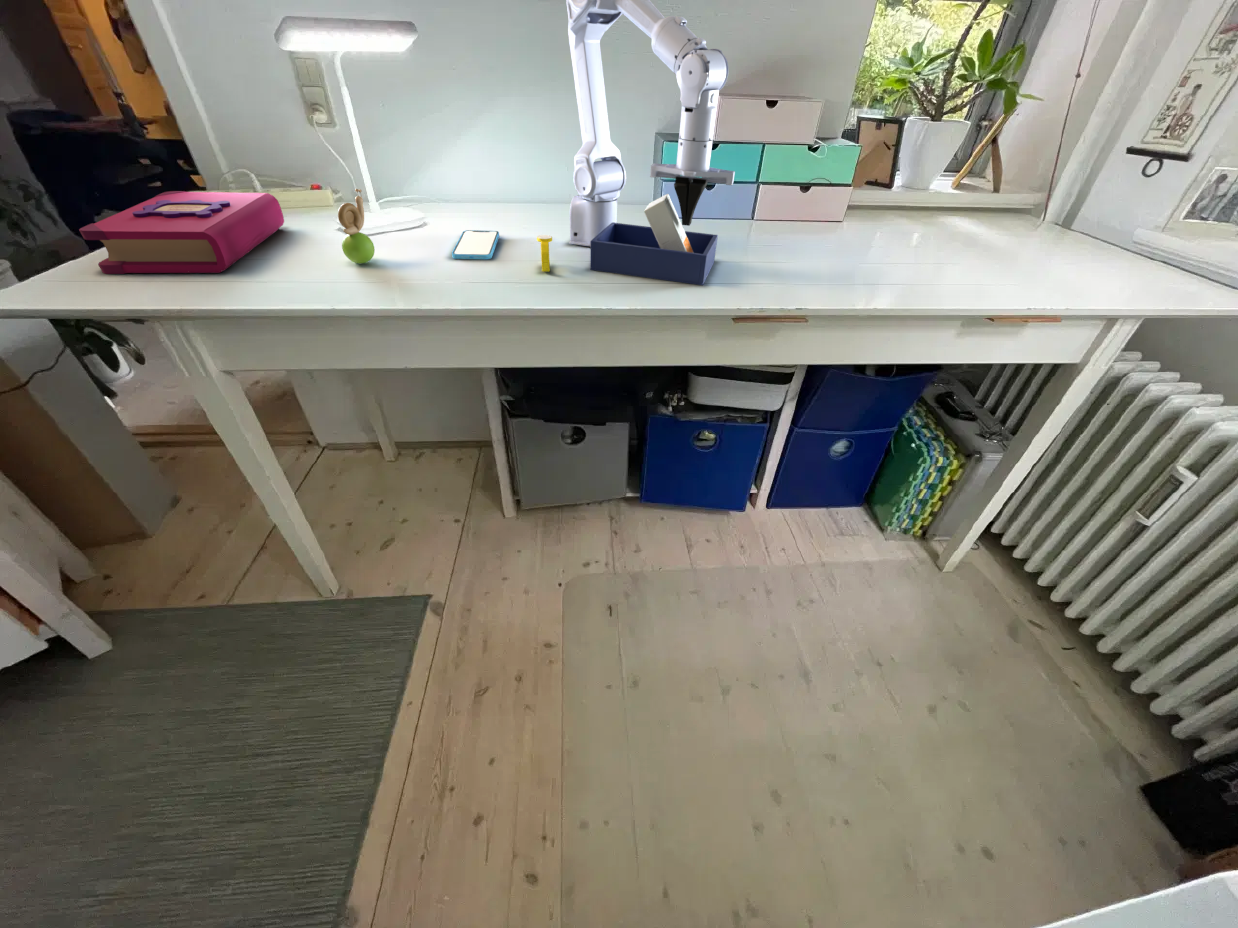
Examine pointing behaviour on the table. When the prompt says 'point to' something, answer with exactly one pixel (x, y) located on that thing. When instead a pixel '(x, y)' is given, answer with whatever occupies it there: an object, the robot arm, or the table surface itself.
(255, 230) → the book
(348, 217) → the snail figurine
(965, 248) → the table surface
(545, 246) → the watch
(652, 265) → the bin
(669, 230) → the cosmetic box
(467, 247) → the smartphone
